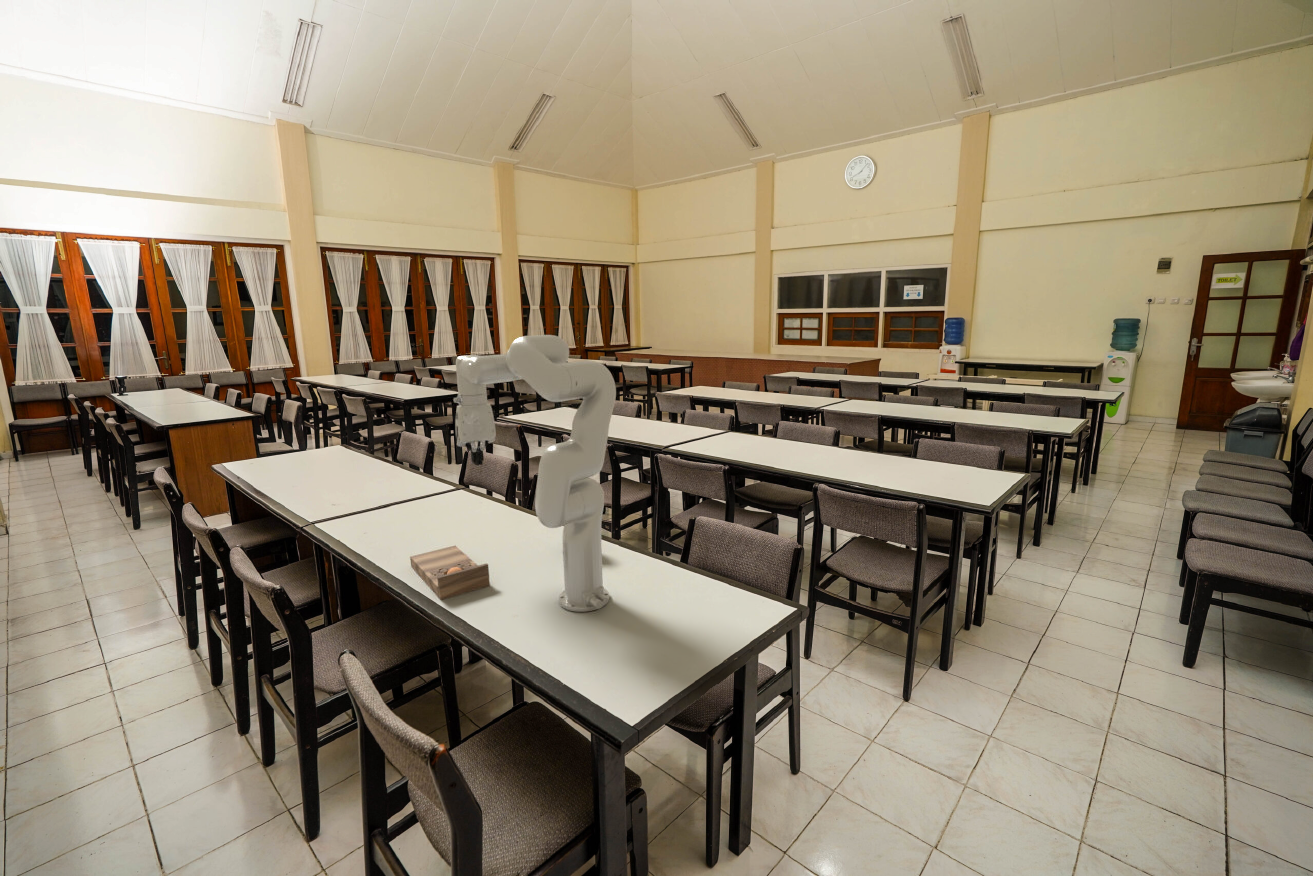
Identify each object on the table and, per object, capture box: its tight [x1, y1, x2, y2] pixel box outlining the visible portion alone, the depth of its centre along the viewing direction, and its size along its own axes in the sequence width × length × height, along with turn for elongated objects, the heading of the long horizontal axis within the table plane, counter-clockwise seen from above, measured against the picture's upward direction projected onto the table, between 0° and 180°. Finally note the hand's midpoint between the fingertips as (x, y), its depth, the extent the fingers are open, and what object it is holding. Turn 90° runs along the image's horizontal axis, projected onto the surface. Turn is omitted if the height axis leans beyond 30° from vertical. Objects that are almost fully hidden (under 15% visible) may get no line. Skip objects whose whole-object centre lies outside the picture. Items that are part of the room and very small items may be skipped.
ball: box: [447, 567, 462, 574], centre depth 160 cm, size 4×4×4 cm
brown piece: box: [409, 545, 491, 601], centre depth 164 cm, size 26×13×6 cm, turn 37°
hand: (477, 464), depth 169 cm, fingers closed
